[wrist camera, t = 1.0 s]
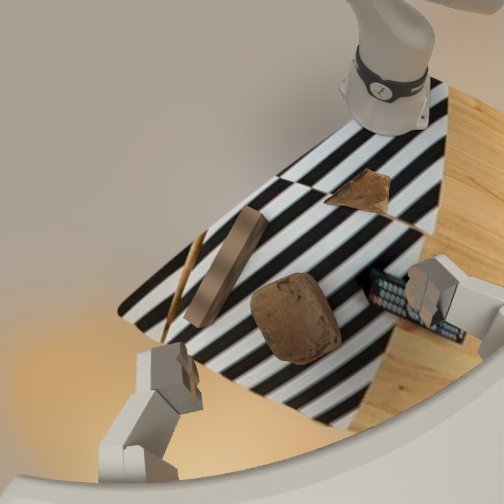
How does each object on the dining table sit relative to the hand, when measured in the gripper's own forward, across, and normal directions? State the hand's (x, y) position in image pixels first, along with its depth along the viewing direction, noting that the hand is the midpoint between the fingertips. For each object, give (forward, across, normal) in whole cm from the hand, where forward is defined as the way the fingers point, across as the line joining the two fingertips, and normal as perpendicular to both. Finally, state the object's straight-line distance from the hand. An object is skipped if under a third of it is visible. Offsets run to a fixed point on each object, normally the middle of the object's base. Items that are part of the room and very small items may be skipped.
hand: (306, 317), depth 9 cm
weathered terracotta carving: (+25, -7, +29) cm, 39 cm away
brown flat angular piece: (+33, -22, +17) cm, 43 cm away
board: (+34, +2, +24) cm, 42 cm away
